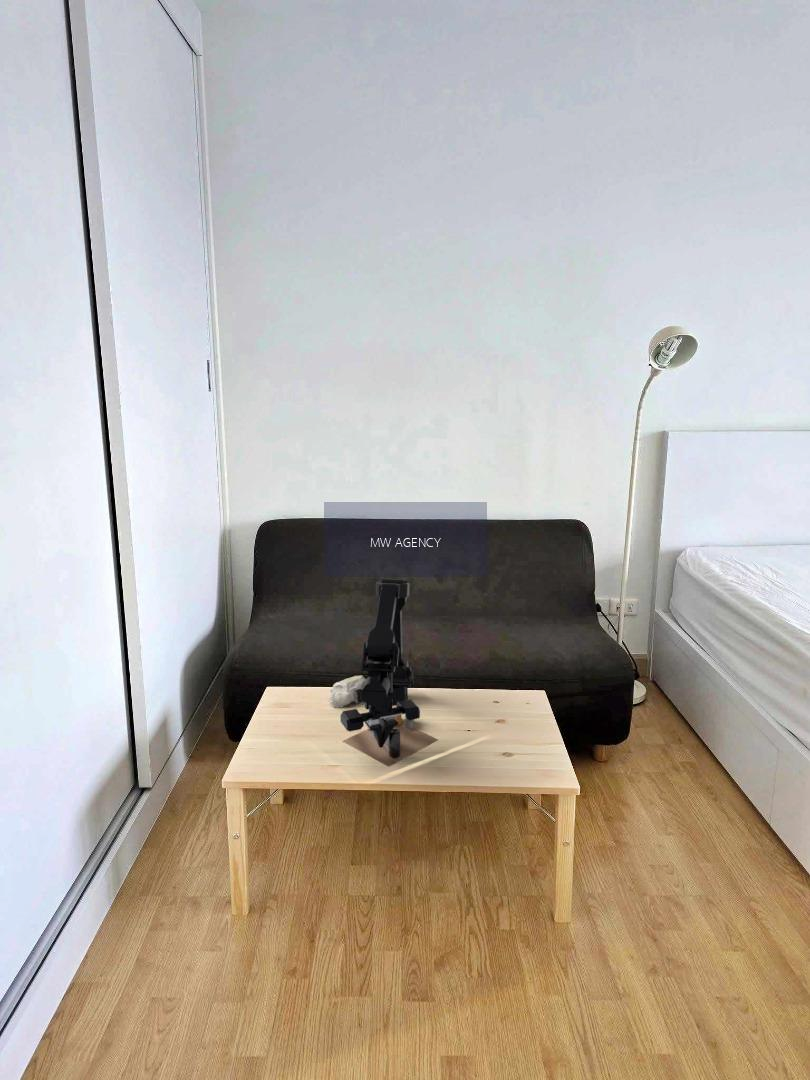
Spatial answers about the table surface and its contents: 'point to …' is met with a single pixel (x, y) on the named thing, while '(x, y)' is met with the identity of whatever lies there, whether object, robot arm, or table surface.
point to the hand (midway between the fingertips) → (380, 746)
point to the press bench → (368, 745)
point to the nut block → (398, 718)
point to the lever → (392, 743)
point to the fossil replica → (345, 691)
